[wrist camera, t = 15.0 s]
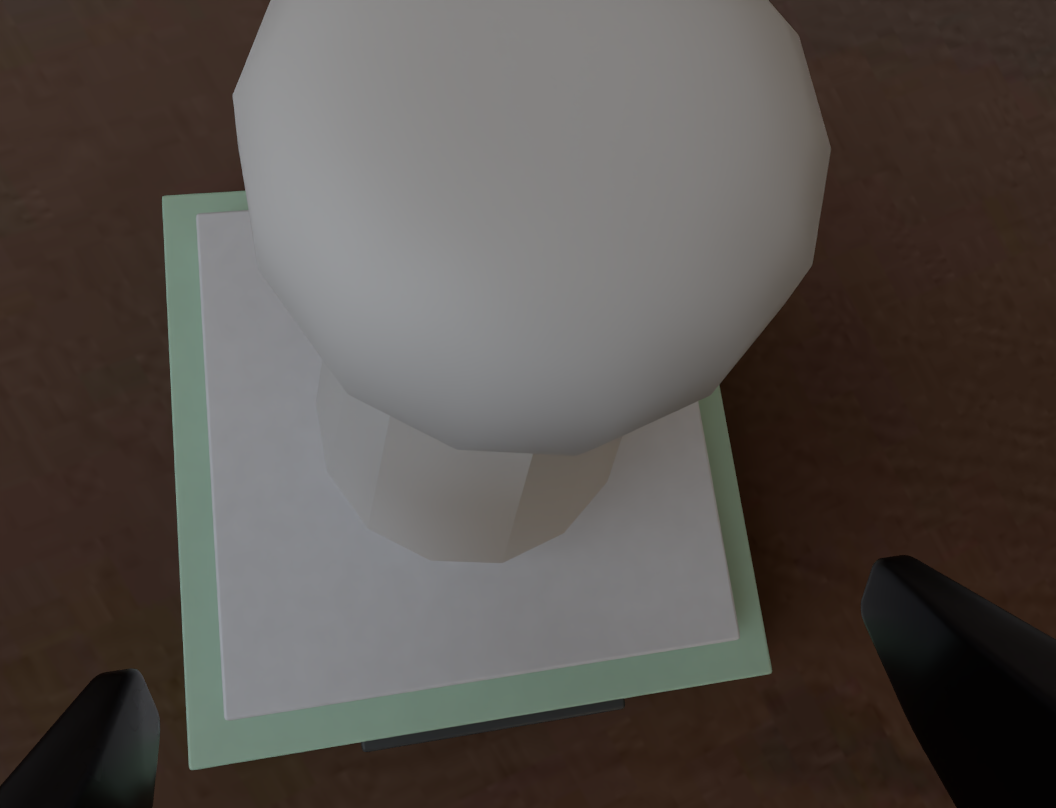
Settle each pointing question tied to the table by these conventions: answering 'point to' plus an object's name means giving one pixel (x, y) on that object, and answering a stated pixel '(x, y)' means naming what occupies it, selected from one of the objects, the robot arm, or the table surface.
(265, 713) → the scale
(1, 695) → the table surface
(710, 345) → the salt shaker
